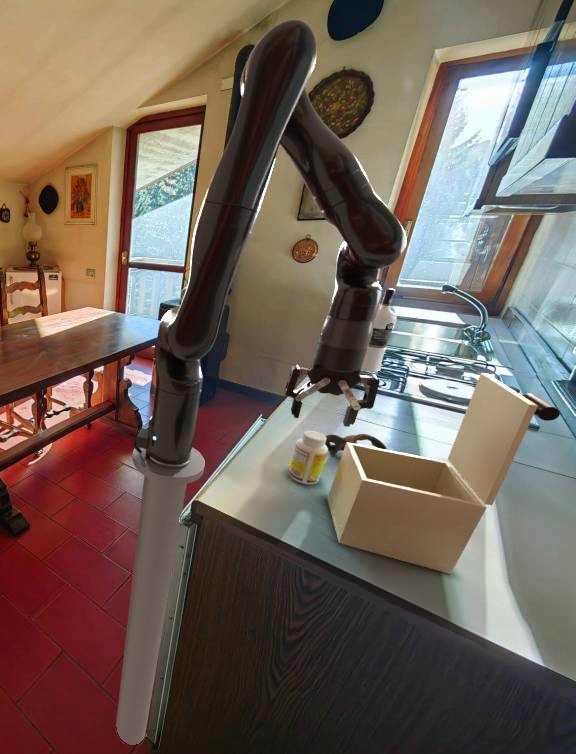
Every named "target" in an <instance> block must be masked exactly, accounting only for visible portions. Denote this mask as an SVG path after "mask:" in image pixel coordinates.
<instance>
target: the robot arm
mask: <svg viewBox="0 0 576 754" xmlns="http://www.w3.org/2000/svg"><path fill="white" fill-rule="evenodd" d="M317 54H318V45H317V39H316V34H315V32H314V30H313V28H312V27H311V26H310V25H309V23H307V22H305V21H304V20H301V19H297V18H291V19H287V20H283V21H281V22H279V23H277V24H276V25H275V26H273V27H271V28H270V29H269V30H268V31H267V32H265V34H263V36H261V38H259V40H258V41H257V42H256V44H255V45H254V47H253V49H252V50H251V52H250V54H249V56H248V58H247V60H246V63H245V65H244V67H243V70H242V72H241V77H240V82H239V91H240V95H241V96H240V97H241V100H240V104H239V108H238V111H237V116H236V118H235V119H236V120H235V123H234V126H233V129H232V132H231V135H230V137H229V140H228V142H227V145H226V147H225V149H224V150H223V153H222V155H221V157H220V159H219V162H218V164H217V165H216V168H215V170H214V172H213V175H212V177H211V179H210V181H209V185H208V187H207V189H206V192H205V195H204V197H203V200H202V204H201V206H200V210H199V213H198V216H197V220H196V224H195V227H194V231H193V236H192V243H191V255H190V269H189V278H188V283H187V287H186V290H185V292H184V295H183V297H182V300H181V304H180V305H179V306H175V307H172V308H171V309H170V310H168V311H167V312H166V313H165V314H164V315H163V316H162V318H161V320H160V323H159V326H158V331H157V338H156V350H155V363H154V364H155V365H154V366H155V367H154V368H155V384H154V394H153V403H152V410H151V417H150V418H149V421H148V426H147V428H144V427H141V429H140V431H139V432H138V434H137V436H136V437H135V438H134V439H133V442H132V444H133V448H135V449H136V450H137V451H138V452H139V454H140V453H142V451H141V449H140V448H143V449H146V453H145V459H149V460H151V461H152V462H153V463H155V464H157V465H159V466H161V467H165V468H172V469H177V468H183V467H185V466H187V465H188V464H189V463H190V459H191V450H192V447H193V444H194V437H195V432H196V426H197V419H198V414H199V409H200V408H199V407H200V402H201V394H202V389H203V382H204V376H203V372H202V367H201V366H202V365H201V359H202V358H204V357H205V356H206V355H207V354H208V353H210V351H211V350H212V348H213V346H214V345H215V342H216V341H217V340H216V339H217V336H218V332H219V329H220V325H221V320H222V316H223V312H224V309H225V306H226V305H225V304H226V302H227V298H228V294H229V291H230V289H231V286H232V283H233V281H234V278H235V276H236V273H237V270H238V268H239V265H240V263H241V259H242V257H243V254H244V251H245V249H246V246H247V243H248V241H249V239H250V236H251V234H252V231H253V229H254V227H255V223H256V220H257V217H258V215H259V211H260V209H261V205H262V203H263V200H264V198H265V197H264V196H265V193H266V190H267V187H268V184H269V181H270V178H271V175H272V173H273V172H272V171H273V168H274V164H275V161H276V158H277V153H278V152H279V151H278V150H279V148H280V147H281V148H282V149H283V151H284V152H285V154H286V156H287V157H288V158H289V160H290V161H291V163H292V165H293V166H294V168H295V169H296V171H297V172H298V174H299V176H300V177H301V179H302V181H303V183H304V184H305V186H306V188H307V190H308V192H309V193H310V195H311V197H312V199H313V201H314V203H315V204H316V206H317V208H318V209H319V212H320V214H321V215H322V217H324V219H325V220H326V222H328V223H329V224H331V225H332V226H334V227H335V228H336V229H337V230H338V232H339V234H340V236H341V237H342V240H341V243H340V245H339V248H338V252H337V255H336V263H335V274H334V290H333V293H332V295H331V299H330V303H329V306H328V310H327V314H326V317H325V320H324V321H323V324H322V326H321V330H320V334H319V337H318V342H317V344H316V349H315V351H314V356H313V360H312V363H311V365H310V367H308V368H306V367H301V366H299V365H298V364H294V365H292V366H291V369H290V372H289V374H288V378H287V381H286V385H285V386H284V387H285V388H284V392H285V396H286V397H289V398H292V402H291V407H290V413H291V415H293V419H299V418H300V414H301V410H302V406H303V401H304V399H305V398H307V397H308V396H311V395H314V393H316V392H318V393H319V394H323V395H324V394H330V395H333V396H338V397H339V396H341V395H344V396H345V398H346V400H347V401H348V403H349V404H347V406H346V410H345V414H344V417H343V420H342V424H343V426H344V427H347V428H350V427H351V425H352V426H353V425H354V424H355V423H356V420H357V417H358V414H359V411H360V410H363V409H367V410H371V409H373V408H374V406H375V400H376V398H377V394H378V391H379V386H380V382H381V380H380V379H379V378H378V377H377V375H374V374H371V375H369V376H366V375H360V371H361V368H362V365H363V361H364V358H365V355H366V352H367V349H368V346H369V344H370V342H371V336H372V333H373V326H374V321H375V318H376V315H377V312H378V308H380V306H381V303H382V299H383V288H382V287H381V285H380V284H379V280H380V279H379V278H380V273H381V269H385V268H387V267H390V266H392V265H393V264H395V263H396V262H397V261H399V260H400V258H401V257H402V256H403V254H404V252H405V250H406V248H407V236H406V232H405V230H404V228H403V226H402V225H401V222H400V221H399V219H398V218H397V217H396V216H395V214H394V213H393V212H392V210H390V208H389V207H388V206H387V204H385V203H384V201H383V200H382V199H381V198H380V197H379V196H378V195H377V194H376V192H375V191H374V188H373V186H372V183H371V182H370V180H369V178H368V176H367V174H366V172H365V171H364V169H363V167H362V165H361V164H360V162H359V160H358V159H357V157H356V155H355V154H354V152H353V151H352V150H351V149H350V148H349V146H348V145H347V144H346V143H345V142H344V141H343V140H342V139H341V138H340V137H339V136H338V135H337V134H336V133H334V131H332V129H330V128H329V127H328V126H327V125H326V123H325V122H324V121H323V120H322V119H321V117H320V116H319V114H318V113H317V111H316V109H315V108H314V106H313V104H312V102H311V100H310V97H309V94H308V92H307V90H306V85H307V83H308V81H309V79H310V77H311V75H312V72H313V70H314V68H315V64H316V60H317ZM306 375H307V377H308V379H309V380H308V381H307V382H306V383H304V384H303V385H302V386H301V387H300V388H299V389H297V390H295V388H296V386H297V383H298V380H299V379H302V378H303V377H304V376H306ZM360 383H362V386H363V387H364V388H365V389H364V392H363V396H362V399H357V398H356V396H355V395H354V393H353V391H352V389H353V388H354V387H356V386H357V385H358V384H360Z"/></svg>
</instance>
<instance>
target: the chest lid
mask: <svg viewBox="0 0 576 754" xmlns="http://www.w3.org/2000/svg"><path fill="white" fill-rule="evenodd" d="M506 385H507V384H504V383H503V382H501V381H500V380H499V379H497V378H495V377H494V376H492V375H490V374H489V373H484V372H480V374H479V376H478V380H477V383H476V385H475V387H474V390H473V393H472V396H471V398H470V400H469V403H468V406H467V407H466V411H465V413H464V416H463V418H462V421H461V424H460V426H459V429H458V430H457V433H456V437H455V439H454V442H453V444H452V447H451V449H450V452H449V454H448V457H447V460H448V462H450V463H451V465H452V466H453V467H454V469H455V470H456V471H457V472H458V473H459V475H460V476H461V477H462V478H463V479H464V481H465V482H466V483H467V484H468V486H469V487H470V488H471V489H472V490H473V492H474V493H475V494H476V495H477V497H478V498H479V499H480V500H481V501H482V503H483V504H484V505H487V506H493V505H494V502H495V500H496V498H497V496H498V493H499V491H500V489H501V487H502V484H503V482H504V480H505V479H506V477H507V474H508V472H509V469H510V467H511V465H512V463H513V461H514V458H515V456H516V454H517V452H518V450H519V448H520V445H521V443H522V441H523V439H524V438H525V434H526V433H527V431H528V428H529V426H530V424H531V422H532V419H533V418H534V416H536V418H539V419H540V420H542V421H546V422H551V421H554V420H557V419H558V418H559V417H560V415H561V411H560V409H558V408H557V407H555V406H554V405H552V404H550V403H549V402H547V401H545V400H544V399H543V398H540V397H539V396H537V395H535V394H534V393H525V394H524V393H523V394H521V393H517V392H516V391H514V390H512V389H511V388H509V387H508V386H509V385H508V386H506Z"/></svg>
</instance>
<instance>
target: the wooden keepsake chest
mask: <svg viewBox="0 0 576 754" xmlns="http://www.w3.org/2000/svg"><path fill="white" fill-rule="evenodd" d="M327 503H328V507H329V510H330V515H331V518H332V519H331V520H332V522H333V526H334V530H335V533H336V537H337V540H338V543H339V544H340V545H341V544H342V545H344V546H348V547H350V548H351V547H352V548H355V549H359V550H363V551H366V552H369V553H373V554H377V555H380V556H384V557H387V558H391V559H395V560H399V561H402V562H406V563H409V564H413V565H416V566H420V567H423V568H427V569H431V570H434V571H438V572H441V573H445V574H449V575H451V574H452V572H453V571H454V569H455V567H456V566H457V563H458V562H459V559H460V558H461V557H462V554H463V553H464V550H465V548H466V547H467V545H468V543H469V541H470V539H471V537H472V536H473V534H474V532H475V530H476V528H477V526H478V525H479V522H480V521H481V519H482V517H483V516H484V513H485V512H486V510H487V506H486V504H484V503H483V501H482V500H481V499H480V498H479V496H478V495H477V494H476V493H475V492H474V490H473V489H472V488H471V487H470V486H469V484H468V483H467V482H466V481H465V479H464V478H463V477H462V476H461V475H460V473H459V472H458V471H457V470H456V469H455V467H454V466H453V465H452V464H451V462H450V461H447V460H441V459H437V458H431V457H426V456H420V455H416V454H411V453H406V452H400V451H395V450H391V449H390V450H389V449H387V450H385V449H380V448H377V447H375V446H369V445H364V444H359V443H357V444H354V443H349V442H346V445H345V448H344V451H342V454H341V457H340V460H339V463H338V466H337V469H336V472H335V475H334V477H333V480H332V483H331V487H330V489H329V491H328V495H327Z"/></svg>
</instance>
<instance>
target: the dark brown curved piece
mask: <svg viewBox="0 0 576 754" xmlns="http://www.w3.org/2000/svg"><path fill="white" fill-rule="evenodd" d="M324 436H325V437H326V442H325V445H326V446H327V448H328V452H329V455H330V456H331V457H332V458H335V457H336V454H337V453H338V452H341V451H342V452H343V451H344V448H345V445H346V442H349V443H354V444H358V441H369V442H370V443H371V446H372V447H375V448H380V449H385V450H388V448H387V446H386V445H385V444H384V443H383V442H382V441H381V440H380V439H378V438H377V437H375V436H372V435H370V434H366V433H359V434H350V435H347V436H344V437H342V436H339V435H337V434H327V435H324ZM331 443H332V444H331Z"/></svg>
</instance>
